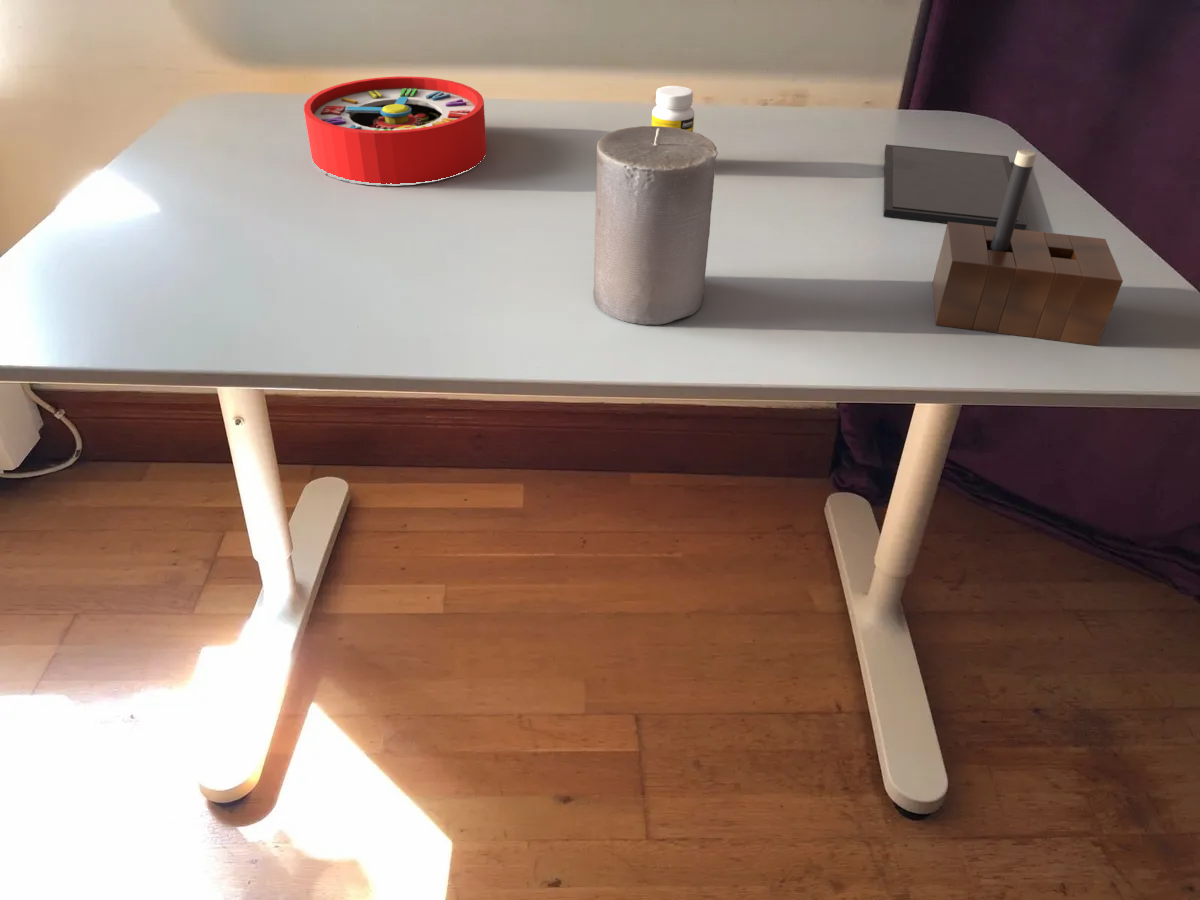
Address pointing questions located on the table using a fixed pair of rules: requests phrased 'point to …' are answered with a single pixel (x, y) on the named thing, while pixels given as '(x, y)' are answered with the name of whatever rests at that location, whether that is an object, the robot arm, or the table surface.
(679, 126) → the supplement bottle
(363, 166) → the toy clock
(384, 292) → the table surface
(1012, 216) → the stylus
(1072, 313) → the pen stand
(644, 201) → the pillar candle
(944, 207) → the tablet
